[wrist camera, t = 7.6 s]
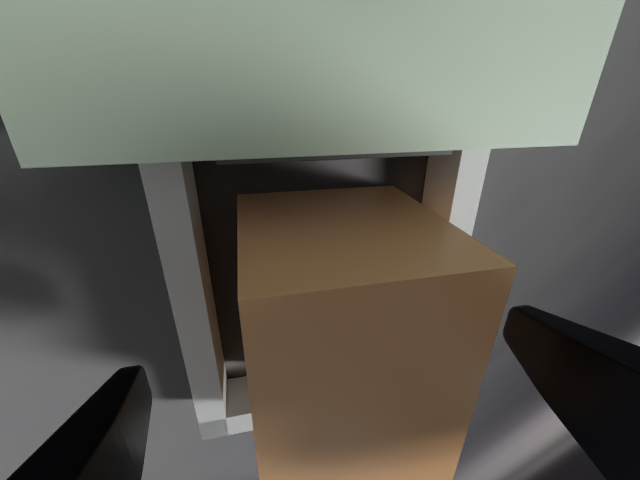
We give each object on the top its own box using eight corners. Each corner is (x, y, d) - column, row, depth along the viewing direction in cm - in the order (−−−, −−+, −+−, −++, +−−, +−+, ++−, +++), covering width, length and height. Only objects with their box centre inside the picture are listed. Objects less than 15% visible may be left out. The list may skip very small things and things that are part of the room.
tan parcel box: (375, 340, 12) (452, 481, 8) (254, 359, 11) (265, 531, 7) (391, 184, 10) (517, 266, 5) (237, 193, 9) (238, 300, 5)
